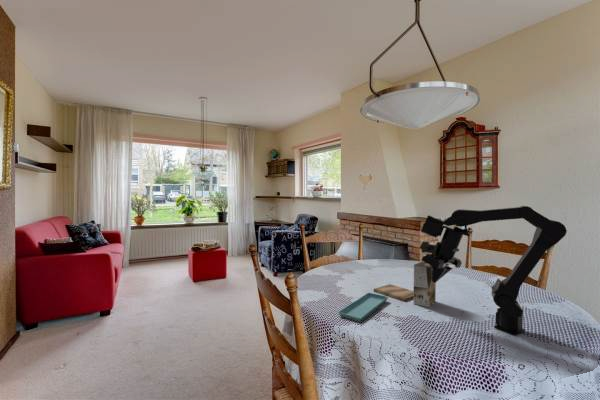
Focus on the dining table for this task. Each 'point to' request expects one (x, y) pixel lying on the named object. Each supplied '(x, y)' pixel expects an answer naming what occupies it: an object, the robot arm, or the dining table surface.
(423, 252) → the robot arm
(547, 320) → the dining table surface
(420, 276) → the coffee box
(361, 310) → the rectangular tray
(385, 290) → the walnut board
